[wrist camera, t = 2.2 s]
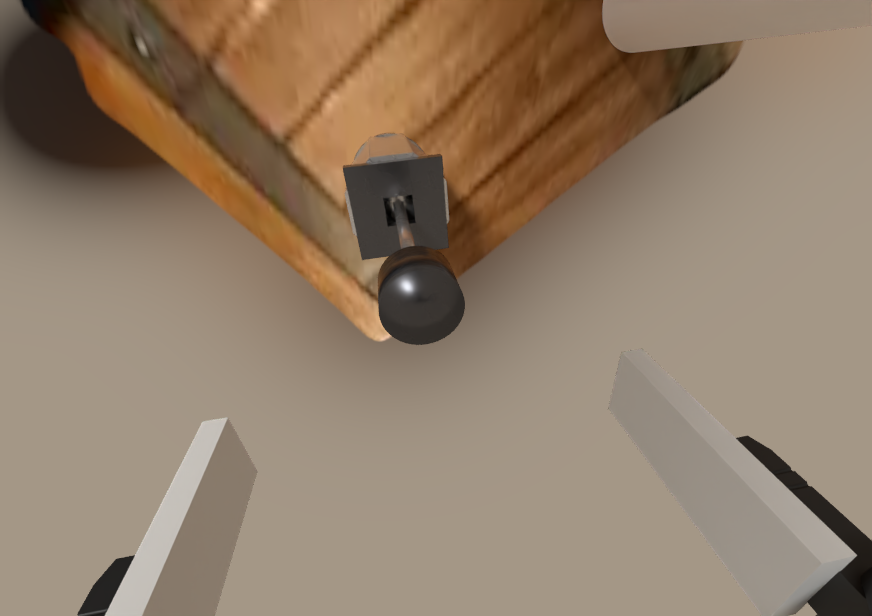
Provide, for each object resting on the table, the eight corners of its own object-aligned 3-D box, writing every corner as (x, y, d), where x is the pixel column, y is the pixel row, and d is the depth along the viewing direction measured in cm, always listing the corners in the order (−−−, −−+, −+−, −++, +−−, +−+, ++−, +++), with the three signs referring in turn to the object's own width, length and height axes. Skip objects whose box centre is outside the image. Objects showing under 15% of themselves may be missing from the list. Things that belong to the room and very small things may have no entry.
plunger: (356, 170, 33) (343, 259, 17) (428, 162, 34) (484, 240, 17) (369, 238, 37) (369, 369, 20) (434, 230, 38) (486, 349, 21)
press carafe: (344, 137, 43) (333, 161, 30) (425, 128, 44) (448, 147, 31) (364, 238, 49) (362, 291, 37) (434, 228, 50) (456, 277, 38)
